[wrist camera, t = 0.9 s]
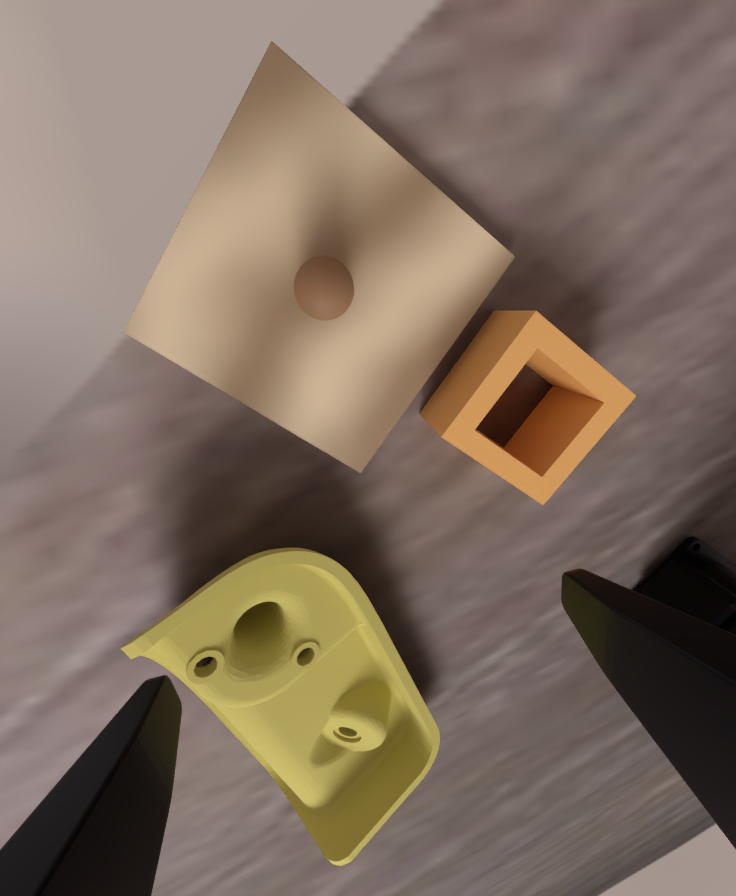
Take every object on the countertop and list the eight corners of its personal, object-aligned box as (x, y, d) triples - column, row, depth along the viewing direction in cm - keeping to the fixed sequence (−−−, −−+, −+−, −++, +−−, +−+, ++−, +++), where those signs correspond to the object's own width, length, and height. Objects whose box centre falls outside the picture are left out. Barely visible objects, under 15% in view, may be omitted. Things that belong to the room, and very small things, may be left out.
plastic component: (449, 748, 26) (321, 895, 22) (384, 673, 32) (276, 777, 28) (321, 507, 17) (82, 676, 14) (267, 469, 23) (92, 578, 20)
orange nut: (579, 380, 21) (636, 395, 17) (505, 471, 22) (542, 505, 18) (493, 310, 19) (536, 310, 15) (419, 413, 20) (441, 437, 17)
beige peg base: (505, 259, 18) (568, 242, 14) (358, 466, 21) (369, 511, 16) (274, 57, 15) (253, -56, 10) (134, 330, 18) (65, 338, 13)
